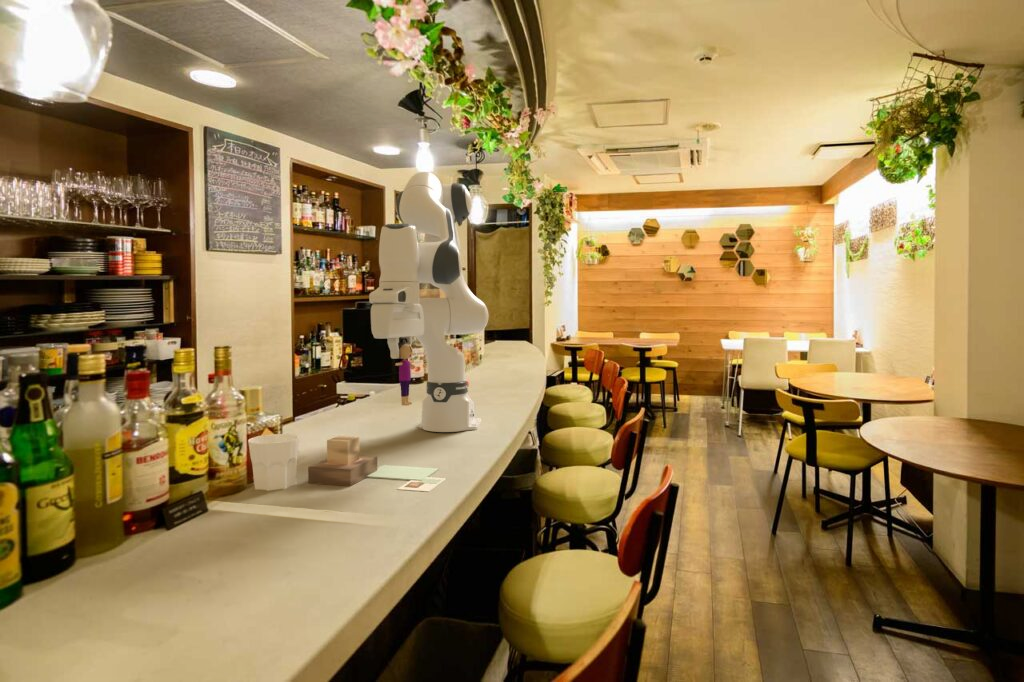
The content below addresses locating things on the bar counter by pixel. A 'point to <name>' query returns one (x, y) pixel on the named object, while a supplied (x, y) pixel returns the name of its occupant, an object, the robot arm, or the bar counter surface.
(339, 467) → the base brick
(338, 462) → the oak cube
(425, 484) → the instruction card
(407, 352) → the toy
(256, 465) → the cup
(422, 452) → the bar counter surface
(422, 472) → the sage mat
